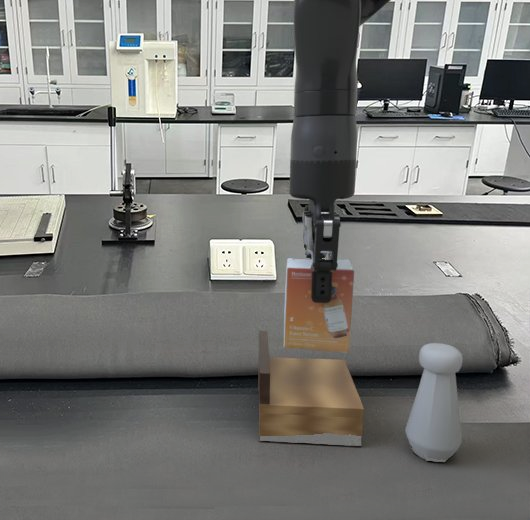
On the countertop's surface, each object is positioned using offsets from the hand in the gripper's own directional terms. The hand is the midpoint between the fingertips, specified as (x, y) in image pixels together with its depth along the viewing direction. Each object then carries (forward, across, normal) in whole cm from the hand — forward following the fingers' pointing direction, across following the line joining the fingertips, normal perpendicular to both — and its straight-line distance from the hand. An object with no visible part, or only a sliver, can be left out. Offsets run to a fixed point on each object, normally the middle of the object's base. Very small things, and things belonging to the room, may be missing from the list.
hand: (317, 293), depth 66 cm
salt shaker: (+17, -7, -12) cm, 22 cm away
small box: (+7, 0, 0) cm, 7 cm away
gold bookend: (+17, 0, +1) cm, 17 cm away
